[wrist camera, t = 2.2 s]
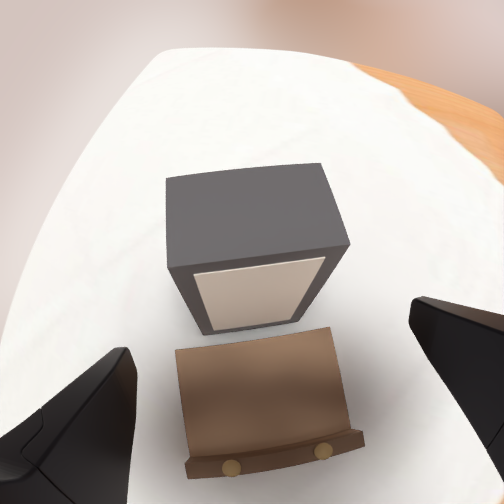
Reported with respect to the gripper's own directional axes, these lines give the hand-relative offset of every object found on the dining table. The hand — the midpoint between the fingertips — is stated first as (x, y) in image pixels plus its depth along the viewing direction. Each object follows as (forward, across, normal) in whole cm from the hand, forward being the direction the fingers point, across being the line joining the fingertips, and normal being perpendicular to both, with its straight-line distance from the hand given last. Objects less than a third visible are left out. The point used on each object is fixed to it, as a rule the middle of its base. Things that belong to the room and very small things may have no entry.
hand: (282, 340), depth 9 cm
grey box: (+12, 0, +5) cm, 13 cm away
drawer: (+7, 0, +10) cm, 12 cm away
